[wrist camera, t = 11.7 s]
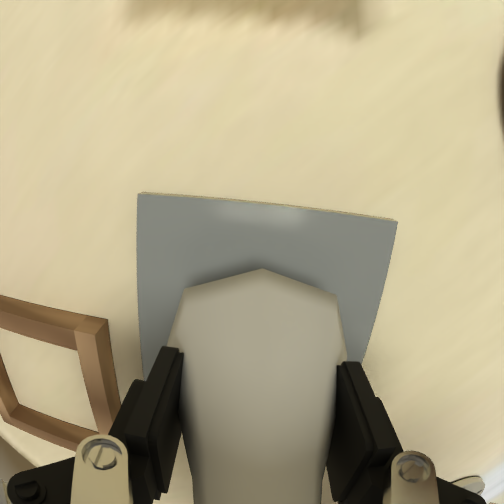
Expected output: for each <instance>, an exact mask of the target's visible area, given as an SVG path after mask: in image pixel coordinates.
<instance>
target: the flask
mask: <svg viewBox="0 0 504 504" xmlns="http://www.w3.org/2000/svg"><path fill="white" fill-rule="evenodd" d="M167 346H168V347H175V348H179V352H180V353H184V359H183V368H182V378H181V388H180V398H179V409H178V415H179V420H180V425H181V430H182V435H183V440H184V444H185V449H186V453H187V458H188V462H189V466H190V471H191V475H192V482H193V497H194V504H321V494H322V480H323V475H324V471H325V467H326V462H327V458H328V453H329V448H330V443H331V438H332V433H333V428H334V423H335V417H336V375H337V365H341V363H342V362H343V361H347V352H346V345H345V339H344V334H343V328H342V322H341V317H340V311H339V306H338V300H337V295H335V294H332V293H330V292H327V291H324V290H321V289H318V288H316V287H313V286H310V285H307V284H304V283H302V282H299V281H296V280H293V279H291V278H288V277H285V276H282V275H279V274H277V273H274V272H271V271H268V270H266V269H263V268H262V269H258V270H254V271H251V272H247V273H243V274H239V275H235V276H232V277H228V278H224V279H220V280H216V281H212V282H209V283H205V284H201V285H197V286H193V287H189V288H185V289H184V291H183V294H182V297H181V300H180V304H179V307H178V310H177V313H176V316H175V320H174V323H173V326H172V329H171V333H170V336H169V339H168V343H167Z"/></svg>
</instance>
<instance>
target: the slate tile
mask: <svg viewBox="0 0 504 504" xmlns="http://www.w3.org/2000/svg"><path fill="white" fill-rule="evenodd" d="M397 224H398V222H397V221H395V220H393V219H389V218H382V217H375V216H369V215H362V214H355V213H348V212H340V211H333V210H325V209H317V208H309V207H301V206H292V205H284V204H275V203H266V202H256V201H246V200H236V199H225V198H214V197H203V196H190V195H177V194H163V193H148V192H141V193H139V194H138V199H137V292H138V314H139V330H140V343H141V355H142V365H143V375H144V381H146V380H147V378H148V376H149V373H150V371H151V369H152V367H153V364H154V362H155V360H156V358H157V355H158V353H159V351H160V349H161V347H162V346H167V343H168V339H169V336H170V333H171V329H172V326H173V323H174V320H175V316H176V313H177V310H178V307H179V304H180V300H181V297H182V294H183V291H184V289H185V288H189V287H193V286H197V285H201V284H205V283H209V282H212V281H216V280H220V279H224V278H228V277H232V276H235V275H239V274H243V273H247V272H251V271H254V270H258V269H262V268H263V269H266V270H268V271H271V272H274V273H277V274H279V275H282V276H285V277H288V278H291V279H293V280H296V281H299V282H302V283H304V284H307V285H310V286H313V287H316V288H318V289H321V290H324V291H327V292H330V293H332V294H335V295H337V300H338V306H339V311H340V317H341V322H342V328H343V334H344V339H345V345H346V352H347V361H358V362H360V364H362V361H363V358H364V355H365V352H366V349H367V346H368V342H369V339H370V336H371V332H372V329H373V326H374V322H375V319H376V315H377V311H378V308H379V304H380V300H381V296H382V292H383V288H384V284H385V280H386V276H387V272H388V268H389V263H390V259H391V254H392V249H393V245H394V240H395V235H396V229H397Z"/></svg>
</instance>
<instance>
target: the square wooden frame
mask: <svg viewBox="0 0 504 504" xmlns="http://www.w3.org/2000/svg"><path fill="white" fill-rule="evenodd" d="M0 328H3V329H6V330H9V331H12V332H15V333H18V334H21V335H24V336H27V337H30V338H34V339H37V340H40V341H44V342H47V343H51V344H54V345H58V346H62V347H65V348H69V349H73V350H77V351H78V355H79V359H80V364H81V369H82V373H83V377H84V381H85V385H86V389H87V393H88V397H89V401H90V404H91V408H92V411H93V415H94V418H95V422H96V425H97V428H98V431H99V433H98V432H95V431H91V430H88V429H85V428H82V427H79V426H75V425H72V424H69V423H67V422H64V421H61V420H58V419H55V418H52V417H50V416H47V415H45V414H42V413H39V412H37V411H34V410H32V409H29V408H27V407H25V406H22V405H20V404H19V403H18V401H17V399H16V396H15V394H14V391H13V389H12V386H11V384H10V381H9V378H8V376H7V373H6V370H5V367H4V364H3V361H2V358H1V355H0V414H1V416H2V418H3V420H4V422H6V423H8V424H10V425H13V426H15V427H17V428H19V429H21V430H23V431H25V432H28V433H30V434H32V435H34V436H37V437H39V438H41V439H44V440H46V441H49V442H51V443H54V444H56V445H59V446H61V447H64V448H67V449H70V450H72V451H75V452H76V450H77V447H78V445H79V444H80V443H81V442H82V440H84V439H86V438H87V437H90V436H93V435H101V434H103V435H108V433H109V431H110V429H111V427H112V424H113V422H114V420H115V418H116V416H117V414H118V412H119V410H120V407H121V404H120V399H119V394H118V388H117V383H116V377H115V371H114V365H113V358H112V352H111V344H110V337H109V329H108V320H107V319H102V318H97V317H92V316H87V315H82V314H77V313H72V312H68V311H63V310H58V309H54V308H50V307H45V306H41V305H37V304H33V303H29V302H25V301H21V300H17V299H13V298H9V297H5V296H2V295H0Z"/></svg>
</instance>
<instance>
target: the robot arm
mask: <svg viewBox="0 0 504 504" xmlns="http://www.w3.org/2000/svg"><path fill="white" fill-rule="evenodd" d="M183 359H184V353H180V352H179V348H175V347H168V346H162V347H161V349H160V351H159V353H158V355H157V358H156V360H155V362H154V364H153V367H152V369H151V371H150V373H149V376H148V378H147V380H146V381H143V380H137V379H135V380H134V381H133V383H132V385H131V387H130V389H129V391H128V393H127V395H126V397H125V399H124V401H123V403H122V405H121V407H120V410H119V412H118V414H117V416H116V418H115V420H114V422H113V424H112V427H111V429H110V431H109V433H108V435H103V434H101V435H93V436H90V437H87V438H86V439H84V440H82V442H81V443H80V444H79V445H78V447H77V450H76V455H75V457H72V458H69V459H66V460H62V461H59V462H56V463H52V464H49V465H45V466H42V467H38V468H34V469H31V470H27V471H22V472H20V473H17V474H15V475H14V476H13V477H12V478H11V479H10V480H9V482H4V481H3V480H2V479H0V504H153V500H154V499H155V500H160V496H161V492H162V493H167V492H168V488H169V484H170V480H171V475H172V471H173V467H174V462H175V458H176V454H177V449H178V445H179V441H180V437H181V433H182V430H181V425H180V420H179V415H178V409H179V398H180V388H181V378H182V368H183ZM326 467H327V472H328V477H329V482H330V488H331V493H332V498H333V501H334V502H338V504H486V502H485V500H484V499H483V498H482V497H481V496H480V495H481V493H482V492H483V490H484V488H485V484H484V482H483V480H482V478H480V477H470V478H466V479H462V480H459V481H457V482H454V483H450V482H448V481H445V480H443V479H441V478H439V477H436V471H435V467H434V464H433V462H432V461H431V459H430V458H429V457H427V456H426V455H425V454H422V453H420V452H416V451H405V452H404V451H403V449H402V447H401V444H400V442H399V440H398V437H397V435H396V433H395V430H394V428H393V426H392V423H391V421H390V419H389V417H388V414H387V412H386V410H385V408H384V405H383V403H382V401H381V400H380V398H378V397H375V395H374V392H373V390H372V388H371V386H370V383H369V381H368V379H367V377H366V375H365V372H364V370H363V368H362V366H361V364H360V362H358V361H343V362H342V363H341V365H337V375H336V417H335V423H334V428H333V433H332V438H331V443H330V448H329V453H328V458H327V462H326ZM489 504H496V503H491V502H490V503H489Z"/></svg>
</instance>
